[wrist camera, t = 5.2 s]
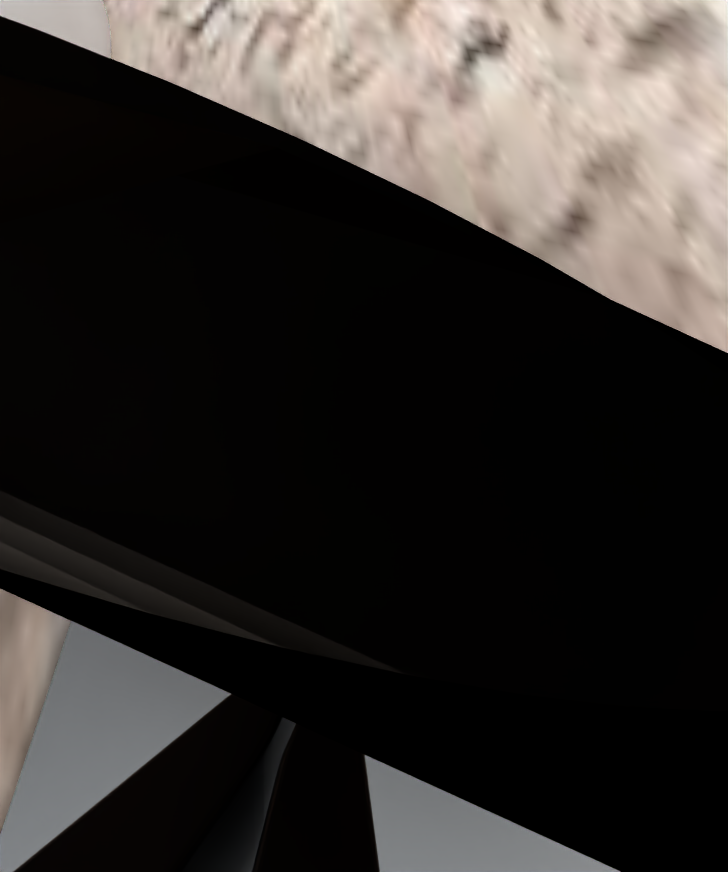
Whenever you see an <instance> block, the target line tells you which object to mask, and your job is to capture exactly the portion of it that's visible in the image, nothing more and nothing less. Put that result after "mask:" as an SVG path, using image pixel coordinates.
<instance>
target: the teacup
mask: <svg viewBox="0 0 728 872" xmlns="http://www.w3.org/2000/svg"><path fill="white" fill-rule="evenodd" d="M0 16H2V17H5V18H7V19H10V20H13V21H16V22H18V23H21V24H24V25H27V26H29V27H32V28H35V29H38V30H40V31H43V32H45V33H48V34H50V35H53V36H55V37H58V38H60V39H63V40H65V41H68V42H70V43H73V44H75V45H78V46H80V47H83V48H85V49H88V50H90V51H93V52H95V53H98V54H100V55H103V56H105V57H108V58H110V59H111V32H110V25H109V19H108V15H107V12H106V8H105V5H104V2H103V0H0Z"/></svg>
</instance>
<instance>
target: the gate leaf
mask: <svg viewBox="0 0 728 872" xmlns="http://www.w3.org/2000/svg"><path fill="white" fill-rule="evenodd" d="M0 588H1V589H3V590H5V591H7V592H9V593H11V594H14V595H16V596H18V597H20V598H22V599H25V600H27V601H29V602H31V603H33V604H36V605H38V606H40V607H42V608H44V609H46V610H49V611H51V612H53V613H55V614H57V615H60V616H62V617H64V618H66V619H68V620H71V621H73V622H75V623H77V624H79V625H82V626H84V627H86V628H88V629H90V630H92V631H95V632H97V633H99V634H101V635H103V636H106V637H108V638H110V639H112V640H114V641H117V642H119V643H121V644H123V645H125V646H128V647H130V648H132V649H134V650H136V651H138V652H141V653H143V654H145V655H147V656H149V657H152V658H154V659H156V660H158V661H160V662H163V663H165V664H167V665H169V666H171V667H174V668H176V669H178V670H180V671H182V672H184V673H187V674H189V675H191V676H193V677H195V678H198V679H200V680H202V681H204V682H206V683H209V684H211V685H213V686H215V687H217V688H220V689H222V690H224V691H226V692H228V693H230V694H233V695H235V696H237V697H239V698H241V699H244V700H246V701H248V702H250V703H252V704H255V705H257V706H259V707H261V708H263V709H265V710H268V711H270V712H272V713H274V714H276V715H279V716H281V717H283V718H285V719H287V720H290V721H292V722H294V723H296V724H298V725H301V726H303V727H305V728H307V729H309V730H311V731H314V732H316V733H318V734H320V735H322V736H325V737H327V738H329V739H331V740H333V741H336V742H338V743H340V744H342V745H344V746H347V747H349V748H351V749H353V750H355V751H357V752H360V753H362V754H364V755H366V756H368V757H371V758H373V759H375V760H377V761H379V762H382V763H384V764H386V765H388V766H390V767H392V768H395V769H397V770H399V771H401V772H403V773H406V774H408V775H410V776H412V777H414V778H417V779H419V780H421V781H423V782H425V783H428V784H430V785H432V786H434V787H436V788H438V789H441V790H443V791H445V792H447V793H449V794H452V795H454V796H456V797H458V798H460V799H463V800H465V801H467V802H469V803H471V804H474V805H476V806H478V807H480V808H482V809H484V810H487V811H489V812H491V813H493V814H495V815H498V816H500V817H502V818H504V819H506V820H509V821H511V822H513V823H515V824H517V825H520V826H522V827H524V828H526V829H528V830H530V831H533V832H535V833H537V834H539V835H541V836H544V837H546V838H548V839H550V840H552V841H555V842H557V843H559V844H561V845H563V846H565V847H568V848H570V849H572V850H574V851H576V852H579V853H581V854H583V855H585V856H587V857H590V858H592V859H594V860H596V861H598V862H601V863H603V864H605V865H607V866H609V867H611V868H614V869H616V870H618V871H620V872H728V353H726V352H724V351H722V350H720V349H718V348H715V347H713V346H711V345H709V344H707V343H704V342H702V341H700V340H698V339H696V338H693V337H691V336H689V335H687V334H685V333H682V332H680V331H678V330H676V329H674V328H672V327H669V326H667V325H665V324H663V323H661V322H658V321H656V320H654V319H652V318H650V317H647V316H645V315H643V314H641V313H639V312H637V311H634V310H632V309H630V308H628V307H626V306H623V305H621V304H619V303H617V302H615V301H612V300H610V299H609V298H607V297H605V296H603V295H602V294H600V293H598V292H596V291H595V290H593V289H591V288H590V287H588V286H586V285H584V284H583V283H581V282H579V281H577V280H576V279H574V278H572V277H571V276H569V275H567V274H565V273H564V272H562V271H560V270H559V269H557V268H555V267H553V266H552V265H550V264H548V263H546V262H545V261H543V260H541V259H539V258H538V257H536V256H534V255H532V254H530V253H528V252H526V251H524V250H522V249H520V248H519V247H517V246H515V245H513V244H511V243H509V242H507V241H505V240H503V239H501V238H499V237H498V236H496V235H494V234H492V233H490V232H488V231H486V230H484V229H482V228H480V227H478V226H477V225H475V224H473V223H471V222H469V221H467V220H465V219H463V218H461V217H459V216H457V215H456V214H454V213H452V212H450V211H448V210H446V209H444V208H442V207H440V206H438V205H437V204H435V203H433V202H431V201H429V200H427V199H425V198H423V197H421V196H419V195H417V194H414V193H412V192H410V191H408V190H406V189H404V188H402V187H400V186H398V185H396V184H393V183H391V182H389V181H387V180H385V179H383V178H381V177H379V176H377V175H375V174H373V173H370V172H368V171H366V170H364V169H362V168H360V167H358V166H356V165H354V164H352V163H350V162H347V161H345V160H343V159H341V158H339V157H337V156H335V155H333V154H331V153H329V152H327V151H324V150H322V149H320V148H318V147H316V146H314V145H312V144H310V143H308V142H306V141H303V140H301V139H299V138H297V137H294V136H292V135H290V134H287V133H285V132H283V131H281V130H278V129H276V128H274V127H271V126H269V125H267V124H265V123H262V122H260V121H258V120H255V119H253V118H251V117H249V116H246V115H244V114H242V113H239V112H237V111H235V110H232V109H230V108H228V107H226V106H223V105H221V104H219V103H216V102H214V101H212V100H210V99H207V98H205V97H203V96H200V95H198V94H196V93H194V92H191V91H189V90H187V89H184V88H182V87H180V86H178V85H175V84H173V83H170V82H168V81H165V80H163V79H160V78H158V77H155V76H153V75H150V74H148V73H145V72H143V71H140V70H138V69H135V68H133V67H130V66H128V65H125V64H123V63H120V62H118V61H115V60H113V59H110V58H108V57H105V56H103V55H100V54H98V53H95V52H93V51H90V50H88V49H85V48H83V47H80V46H78V45H75V44H73V43H70V42H68V41H65V40H63V39H60V38H58V37H55V36H53V35H50V34H48V33H45V32H43V31H40V30H38V29H35V28H32V27H29V26H27V25H24V24H21V23H18V22H16V21H13V20H10V19H7V18H5V17H2V16H0ZM324 671H331V672H336V673H341V674H346V675H350V676H352V677H353V678H354V680H355V685H356V687H355V686H352V685H350V684H348V683H346V682H344V681H342V680H340V679H338V678H336V677H334V676H332V675H330V674H327V673H325V672H324Z"/></svg>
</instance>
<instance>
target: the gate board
mask: <svg viewBox="0 0 728 872" xmlns="http://www.w3.org/2000/svg"><path fill="white" fill-rule="evenodd" d="M229 695H230V693H228V692H226V691H224V690H222V689H220V688H217V687H215V686H213V685H211V684H209V683H206V682H204V681H202V680H200V679H198V678H195V677H193V676H191V675H189V674H187V673H184V672H182V671H180V670H178V669H176V668H174V667H171V666H169V665H167V664H165V663H163V662H160V661H158V660H156V659H154V658H152V657H149V656H147V655H145V654H143V653H141V652H138V651H136V650H134V649H132V648H130V647H128V646H125V645H123V644H121V643H119V642H117V641H114V640H112V639H110V638H108V637H106V636H103V635H101V634H99V633H97V632H95V631H92V630H90V629H88V628H86V627H84V626H82V625H79V624H77V623H75V622H73V621H71V623H70V626H69V629H68V632H67V635H66V638H65V641H64V644H63V647H62V650H61V653H60V656H59V659H58V662H57V665H56V668H55V671H54V674H53V677H52V680H51V683H50V687H49V690H48V693H47V696H46V699H45V702H44V705H43V708H42V711H41V714H40V717H39V720H38V723H37V726H36V729H35V732H34V735H33V738H32V741H31V744H30V747H29V750H28V753H27V756H26V759H25V762H24V765H23V768H22V771H21V774H20V777H19V780H18V783H17V786H16V789H15V792H14V795H13V798H12V801H11V804H10V807H9V810H8V813H7V816H6V819H5V822H4V825H3V828H2V831H1V834H0V872H13V871H14V870H15V869H17V868H18V867H19V866H20V865H22V864H23V863H24V862H25V861H26V860H28V859H29V858H30V857H31V856H33V855H34V854H35V853H36V852H38V851H39V850H40V849H41V848H42V847H44V846H45V845H46V844H47V843H49V842H50V841H51V840H52V839H53V838H55V837H56V836H57V835H58V834H60V833H61V832H62V831H63V830H64V829H66V828H67V827H68V826H69V825H71V824H72V823H73V822H74V821H76V820H77V819H78V818H79V817H80V816H82V815H83V814H84V813H85V812H87V811H88V810H89V809H90V808H91V807H93V806H94V805H95V804H96V803H98V802H99V801H100V800H101V799H102V798H104V797H105V796H106V795H107V794H109V793H110V792H111V791H112V790H114V789H115V788H116V787H117V786H118V785H120V784H121V783H122V782H123V781H125V780H126V779H127V778H128V777H129V776H131V775H132V774H133V773H134V772H136V771H137V770H138V769H139V768H140V767H142V766H143V765H144V764H145V763H147V762H148V761H149V760H150V759H152V758H153V757H154V756H155V755H156V754H158V753H159V752H160V751H161V750H163V749H164V748H165V747H166V746H167V745H169V744H170V743H171V742H172V741H174V740H175V739H176V738H177V737H178V736H180V735H181V734H182V733H183V732H185V731H186V730H187V729H188V728H190V727H191V726H192V725H193V724H194V723H196V722H197V721H198V720H199V719H201V718H202V717H203V716H204V715H205V714H207V713H208V712H209V711H210V710H212V709H213V708H214V707H215V706H216V705H218V704H219V703H220V702H221V701H223V700H224V699H225V698H226V697H228V696H229ZM365 761H366V768H367V776H368V784H369V791H370V799H371V806H372V814H373V822H374V829H375V837H376V844H377V852H378V859H379V867H380V872H620V871H618V870H616V869H614V868H611V867H609V866H607V865H605V864H603V863H601V862H598V861H596V860H594V859H592V858H590V857H587V856H585V855H583V854H581V853H579V852H576V851H574V850H572V849H570V848H568V847H565V846H563V845H561V844H559V843H557V842H555V841H552V840H550V839H548V838H546V837H544V836H541V835H539V834H537V833H535V832H533V831H530V830H528V829H526V828H524V827H522V826H520V825H517V824H515V823H513V822H511V821H509V820H506V819H504V818H502V817H500V816H498V815H495V814H493V813H491V812H489V811H487V810H484V809H482V808H480V807H478V806H476V805H474V804H471V803H469V802H467V801H465V800H463V799H460V798H458V797H456V796H454V795H452V794H449V793H447V792H445V791H443V790H441V789H438V788H436V787H434V786H432V785H430V784H428V783H425V782H423V781H421V780H419V779H417V778H414V777H412V776H410V775H408V774H406V773H403V772H401V771H399V770H397V769H395V768H392V767H390V766H388V765H386V764H384V763H382V762H379V761H377V760H375V759H373V758H371V757H368V756H366V755H365Z"/></svg>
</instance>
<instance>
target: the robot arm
mask: <svg viewBox="0 0 728 872" xmlns="http://www.w3.org/2000/svg"><path fill="white" fill-rule="evenodd" d="M324 672H325V673H327V674H330V675H332V676H334V677H336V678H338V679H340V680H342V681H344V682H346V683H348V684H350V685H352V686H355V687H356V685H355V680H354V678H353V677H352V676H350V675H346V674H341V673H336V672H331V671H324ZM13 872H380V867H379V859H378V852H377V844H376V837H375V829H374V822H373V814H372V806H371V799H370V791H369V784H368V776H367V768H366V761H365V755H364V754H362V753H360V752H357V751H355V750H353V749H351V748H349V747H347V746H344V745H342V744H340V743H338V742H336V741H333V740H331V739H329V738H327V737H325V736H322V735H320V734H318V733H316V732H314V731H311V730H309V729H307V728H305V727H303V726H301V725H298V724H296V723H294V722H292V721H290V720H287V719H285V718H283V717H281V716H279V715H276V714H274V713H272V712H270V711H268V710H265V709H263V708H261V707H259V706H257V705H255V704H252V703H250V702H248V701H246V700H244V699H241V698H239V697H237V696H235V695H233V694H230V695H229V696H228V697H226V698H225V699H224V700H223V701H221V702H220V703H219V704H218V705H216V706H215V707H214V708H213V709H212V710H210V711H209V712H208V713H207V714H205V715H204V716H203V717H202V718H201V719H199V720H198V721H197V722H196V723H194V724H193V725H192V726H191V727H190V728H188V729H187V730H186V731H185V732H183V733H182V734H181V735H180V736H178V737H177V738H176V739H175V740H174V741H172V742H171V743H170V744H169V745H167V746H166V747H165V748H164V749H163V750H161V751H160V752H159V753H158V754H156V755H155V756H154V757H153V758H152V759H150V760H149V761H148V762H147V763H145V764H144V765H143V766H142V767H140V768H139V769H138V770H137V771H136V772H134V773H133V774H132V775H131V776H129V777H128V778H127V779H126V780H125V781H123V782H122V783H121V784H120V785H118V786H117V787H116V788H115V789H114V790H112V791H111V792H110V793H109V794H107V795H106V796H105V797H104V798H102V799H101V800H100V801H99V802H98V803H96V804H95V805H94V806H93V807H91V808H90V809H89V810H88V811H87V812H85V813H84V814H83V815H82V816H80V817H79V818H78V819H77V820H76V821H74V822H73V823H72V824H71V825H69V826H68V827H67V828H66V829H64V830H63V831H62V832H61V833H60V834H58V835H57V836H56V837H55V838H53V839H52V840H51V841H50V842H49V843H47V844H46V845H45V846H44V847H42V848H41V849H40V850H39V851H38V852H36V853H35V854H34V855H33V856H31V857H30V858H29V859H28V860H26V861H25V862H24V863H23V864H22V865H20V866H19V867H18V868H17V869H15V870H14V871H13Z"/></svg>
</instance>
